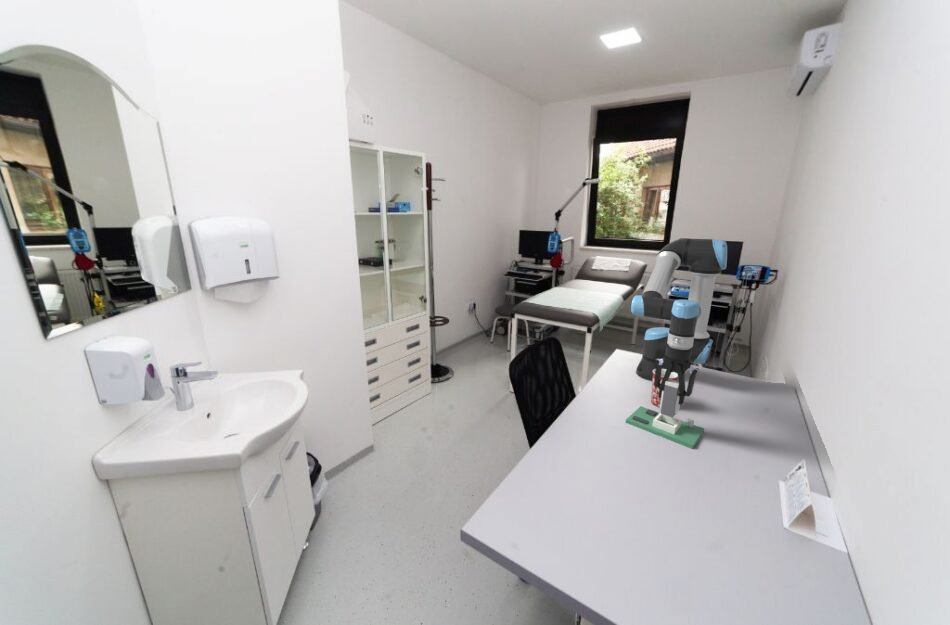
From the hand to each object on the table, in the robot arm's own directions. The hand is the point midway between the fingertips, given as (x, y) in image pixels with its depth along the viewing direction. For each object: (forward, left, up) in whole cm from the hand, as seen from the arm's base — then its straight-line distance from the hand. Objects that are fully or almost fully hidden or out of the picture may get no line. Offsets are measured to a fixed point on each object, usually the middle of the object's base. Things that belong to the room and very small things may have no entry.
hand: (669, 409), depth 128 cm
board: (-1, -1, -8) cm, 8 cm away
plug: (0, 0, -2) cm, 2 cm away
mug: (-20, -8, -8) cm, 23 cm away
